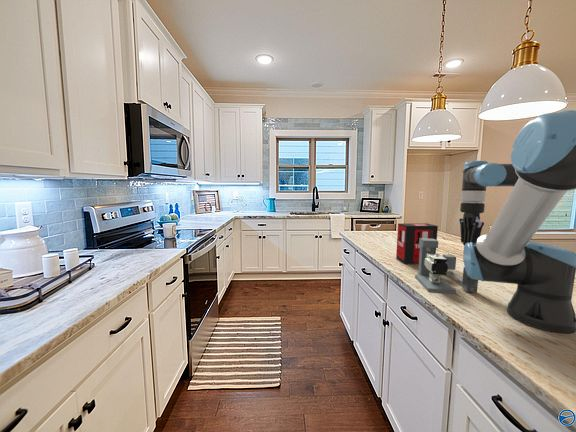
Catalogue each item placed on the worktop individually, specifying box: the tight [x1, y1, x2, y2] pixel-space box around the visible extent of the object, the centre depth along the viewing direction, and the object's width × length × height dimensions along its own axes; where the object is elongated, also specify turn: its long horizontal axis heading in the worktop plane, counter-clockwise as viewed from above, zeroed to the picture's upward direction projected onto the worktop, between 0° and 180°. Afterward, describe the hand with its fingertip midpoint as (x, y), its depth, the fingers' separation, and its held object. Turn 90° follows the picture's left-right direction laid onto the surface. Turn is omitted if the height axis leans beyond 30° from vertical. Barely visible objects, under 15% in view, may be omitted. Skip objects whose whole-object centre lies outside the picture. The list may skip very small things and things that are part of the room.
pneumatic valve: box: [424, 252, 449, 284], centre depth 104 cm, size 6×12×12 cm, turn 170°
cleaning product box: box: [395, 222, 439, 265], centre depth 136 cm, size 16×9×20 cm, turn 94°
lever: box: [446, 266, 479, 293], centre depth 106 cm, size 20×4×11 cm, turn 171°
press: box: [414, 238, 457, 294], centre depth 107 cm, size 24×18×17 cm
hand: (467, 262), depth 100 cm, fingers closed
